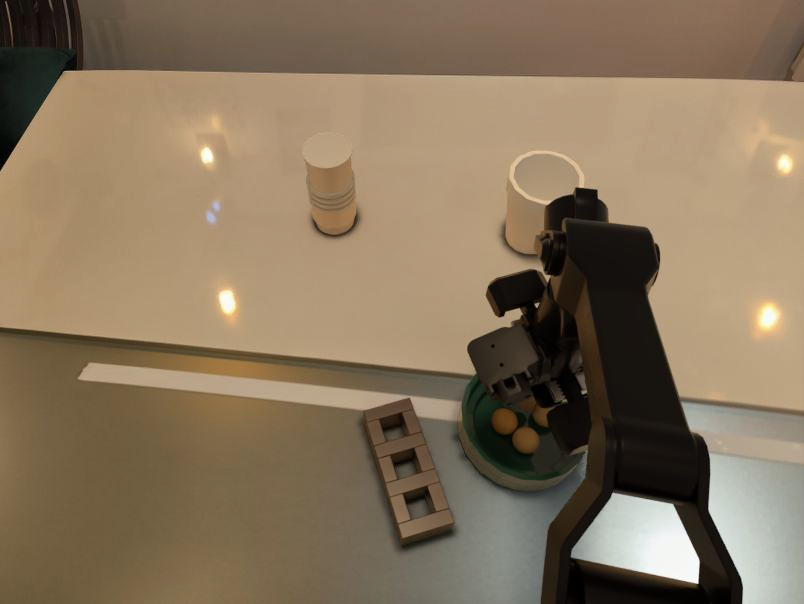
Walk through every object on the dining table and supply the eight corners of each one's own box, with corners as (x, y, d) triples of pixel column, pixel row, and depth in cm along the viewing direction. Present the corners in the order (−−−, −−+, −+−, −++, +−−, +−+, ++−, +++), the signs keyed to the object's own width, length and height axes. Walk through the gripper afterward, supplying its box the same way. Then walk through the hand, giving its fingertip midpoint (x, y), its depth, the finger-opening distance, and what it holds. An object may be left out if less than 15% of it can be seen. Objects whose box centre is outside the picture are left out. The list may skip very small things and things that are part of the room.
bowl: (602, 471, 69) (615, 458, 65) (485, 507, 68) (492, 497, 64) (545, 362, 77) (554, 344, 73) (440, 392, 76) (443, 376, 72)
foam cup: (538, 274, 85) (560, 216, 74) (482, 241, 89) (495, 182, 78) (572, 231, 89) (597, 170, 78) (516, 202, 93) (533, 140, 82)
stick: (536, 402, 71) (557, 362, 62) (530, 414, 71) (549, 376, 62) (522, 394, 72) (540, 353, 63) (515, 406, 71) (532, 367, 62)
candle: (363, 207, 94) (359, 136, 82) (348, 241, 90) (342, 173, 78) (322, 197, 96) (312, 126, 83) (306, 231, 92) (293, 162, 80)
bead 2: (528, 463, 70) (548, 447, 69) (517, 453, 68) (538, 437, 68) (514, 443, 72) (534, 428, 72) (503, 433, 70) (523, 417, 70)
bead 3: (552, 434, 70) (565, 411, 70) (528, 419, 71) (540, 397, 70) (550, 430, 72) (563, 409, 72) (527, 416, 73) (539, 395, 73)
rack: (451, 530, 67) (454, 522, 64) (401, 545, 66) (402, 538, 63) (408, 409, 75) (409, 397, 72) (363, 422, 74) (362, 410, 71)
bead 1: (509, 436, 72) (525, 431, 70) (489, 437, 71) (504, 432, 69) (504, 411, 74) (519, 405, 71) (483, 411, 73) (498, 405, 70)
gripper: (446, 260, 59) (435, 334, 72) (530, 444, 48) (500, 492, 61) (552, 232, 60) (523, 310, 73) (657, 406, 49) (602, 461, 62)
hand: (534, 387), depth 67 cm, fingers closed on stick, 2 cm apart
